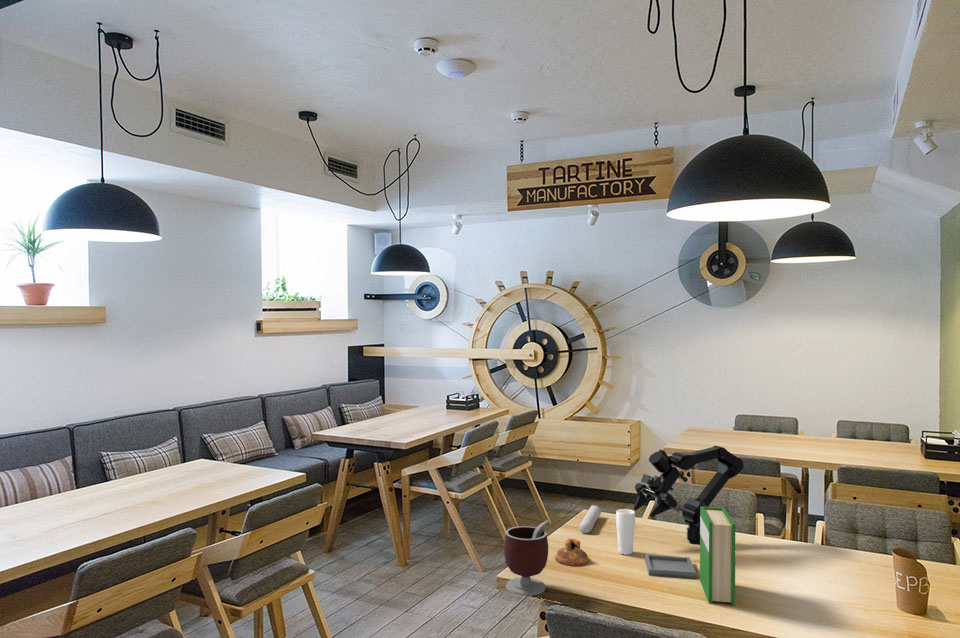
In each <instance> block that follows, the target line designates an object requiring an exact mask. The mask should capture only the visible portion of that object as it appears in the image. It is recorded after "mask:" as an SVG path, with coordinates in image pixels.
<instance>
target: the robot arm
mask: <svg viewBox="0 0 960 638" xmlns="http://www.w3.org/2000/svg"><path fill="white" fill-rule="evenodd" d="M711 460H716V461H717V462H718V464H717V471H716V472H715V474H714V475H713V477H711V479H710V481H709V482H708V483H707V484H706V486H705V487H704V488H703V490H701V492H700V494H699V495H698V496H697V497H696V498H694V499H693V498H688V499H687V501H686V502H685V503H684V504H683V505H682V506H683V508H682V509H681V512H682V513H681V514H682V515H681V516H682V518H683V520H684V523H686V524H687V527H686V539H687V541H688V542H689V544H693V543H694V545H696V544H697V545H700V506H702V507H710V505H711V504H712V502H713V501H714V499H715V498H716V497H717V495H719V493H720V491H721V490H722V489H723V488H724V487H725V485H726V484H727V482H728V481H729V480H730V479H733V478H734V477H737V476H738V475H739V474H740V473H741V472H742V471H743V470H744V468H745V466H744V461H743V459H742V458H740V457H738V456H736V455H734V454H733V453H732V452H730V451H728V450H727V449H726V448H725V447H723V446H719V445H714V446H712V447H707V448H704V449H703V448H702V449H699V450H696V451H690V452H686V451H679V452H678V451H676V452H674V453H671V455H668V454H667V453H666V451H665V450H664V449H661V448H660V449H659V450H658V451H656V452H655V451H654V453H651V454H650V455H649V457H648V462H649V463H650V465H652V466H653V468H654V469H655V470H656V472H658V473H661V474H660V475H659V476H658V475H654V476H651V475H648V474H646V473H643V475H642V477H641V480H640V482H637V483H636V484H635V485H634V489H635V492H636V494H637V495H636V500H635V503H634V506H633V511H634V512H635V511H638V510H639V509H640V508H641V507H642V506H644V505H645V504H646V503H647V502H648V501H649V499H650V498H651V497H654V498H655V499H656V504H655V505H654V506H653V508H652V509H651V511H650V513H649V517H650V518H653V517H655V516H658V515H660V514H661V513H665V512H666V511H670V510H672V509H673V510H675V509H676V507H678V501H677V500H676V498H675V497H674V496H673V495H672V494H671V493H669V492H673V490H674V488H673V486H674V485H675V483H676V482H677V481H678V479H679V480H682V481H683V480H685V476H684V472H683V471H688V470H691V469H693V468H694V467H695V466H696V465H697V464H700V463H704V462H709V461H711ZM679 469H680V470H679ZM681 470H683V471H681Z"/></svg>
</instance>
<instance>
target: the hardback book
mask: <svg viewBox="0 0 960 638" xmlns="http://www.w3.org/2000/svg"><path fill="white" fill-rule="evenodd" d="M699 582H700V585H701V587H702V590H703V592H704V595H705V597H706V600H707V603H708V604H709V605H712V604H713V602H720V603H730V605H731V606H732V607H735V606H736V523H735V521H734V520H733V519H732V517H731V515H730V514H729V513H728V511H727V510H726V509H725V507H717V506H716V507H714V506H708V507H702V506H700V544H699Z"/></svg>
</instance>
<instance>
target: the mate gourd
mask: <svg viewBox="0 0 960 638" xmlns="http://www.w3.org/2000/svg"><path fill="white" fill-rule="evenodd" d="M548 523H550V520H549V519H547V520H545V521H543V522H541V523H540V524H539V525H537V527H535V526H527V525H525V526H524V525H522V526H521V525H520V526H513V527H510V528H508V529H507V530H506V531H505V536H504V537H505V538H504V543H503V554H504V560H505V564H506V566H507V568H508V569H509V571H510V572H511V573H513V574H515V575H517V576H520V577H516V578H512V579H509V580H508V581H507V582H506V584H505V585H506V586H505V587H506V590H507V591H509V592H510V593H513V594H515V595H518V596H524V597H525V596H527V597H528V596H530V597H531V596H537V595H541V594H543V593H544V591H546V584H545V583H544V582H543V581H541V580H539V579H537V578H532V577H533V576H537V575H540V574H541V573H542V572H543V570H544V569H545V567H546V566H547V563H548V558H549V542H548V535H547V534H548V533H547V532H546V531H545V530H544V528H545V527H546V526H547V524H548Z"/></svg>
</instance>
